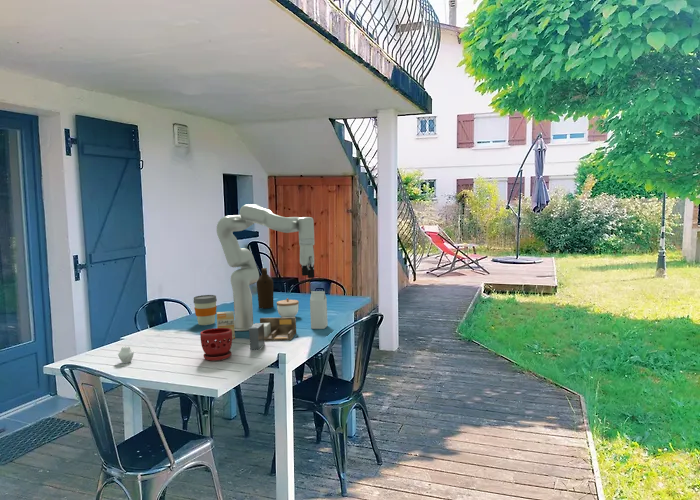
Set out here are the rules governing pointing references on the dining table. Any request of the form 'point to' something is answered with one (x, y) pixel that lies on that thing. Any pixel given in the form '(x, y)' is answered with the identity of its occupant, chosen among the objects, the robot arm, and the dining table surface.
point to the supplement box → (226, 321)
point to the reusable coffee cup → (205, 309)
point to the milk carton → (318, 310)
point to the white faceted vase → (126, 354)
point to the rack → (279, 328)
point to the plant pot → (216, 343)
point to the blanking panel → (256, 336)
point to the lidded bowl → (287, 307)
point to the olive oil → (265, 290)
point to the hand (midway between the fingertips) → (308, 276)
